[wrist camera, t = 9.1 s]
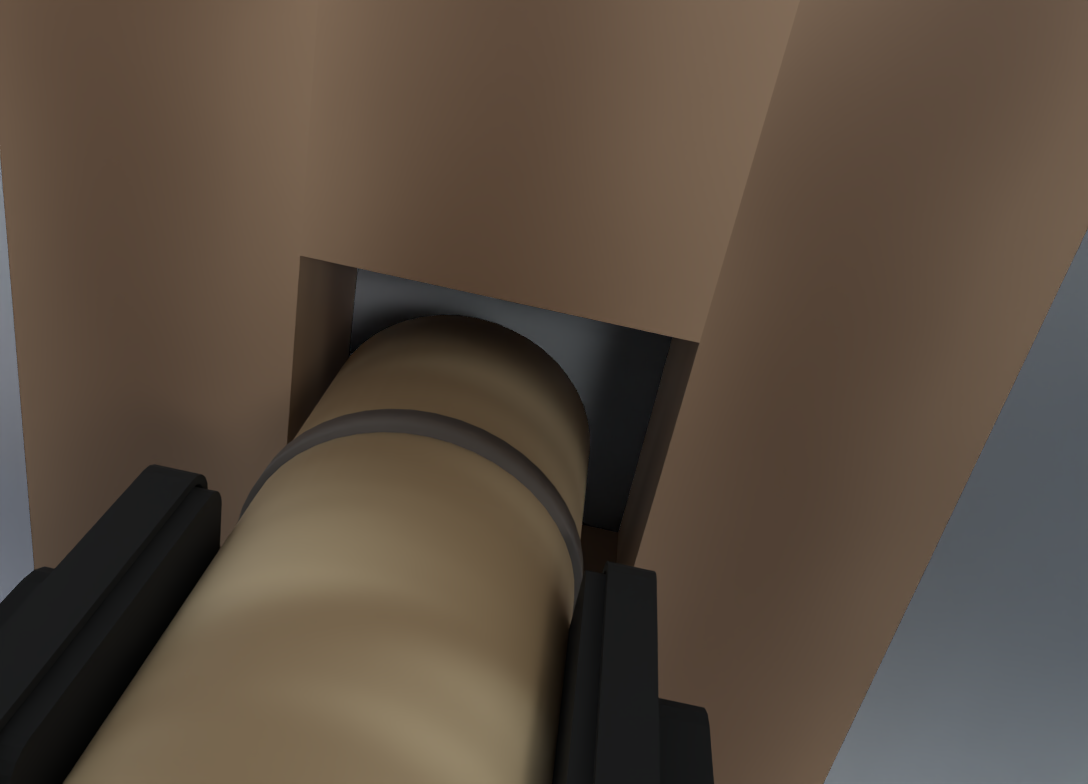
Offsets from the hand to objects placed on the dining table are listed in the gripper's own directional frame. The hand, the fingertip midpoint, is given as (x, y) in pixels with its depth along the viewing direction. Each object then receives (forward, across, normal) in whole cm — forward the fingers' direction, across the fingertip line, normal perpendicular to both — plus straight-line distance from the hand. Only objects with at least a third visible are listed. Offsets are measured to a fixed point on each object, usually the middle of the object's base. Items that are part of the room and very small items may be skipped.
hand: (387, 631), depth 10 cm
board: (+6, 0, 0) cm, 6 cm away
